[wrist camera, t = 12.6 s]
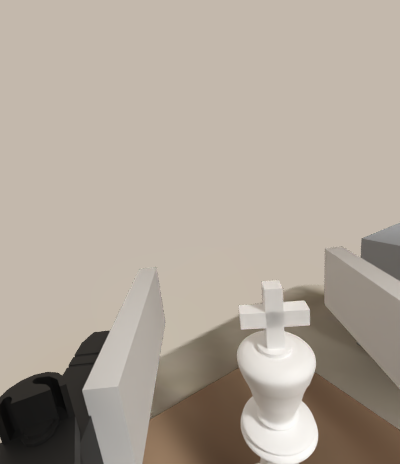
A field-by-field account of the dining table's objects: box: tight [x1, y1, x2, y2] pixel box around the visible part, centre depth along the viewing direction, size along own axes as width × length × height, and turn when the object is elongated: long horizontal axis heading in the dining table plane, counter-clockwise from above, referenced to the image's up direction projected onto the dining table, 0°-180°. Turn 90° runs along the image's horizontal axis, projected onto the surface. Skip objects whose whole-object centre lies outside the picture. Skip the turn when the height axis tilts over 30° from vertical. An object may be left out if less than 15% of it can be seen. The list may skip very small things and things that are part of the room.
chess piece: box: [237, 280, 318, 464], centre depth 8 cm, size 5×5×10 cm
